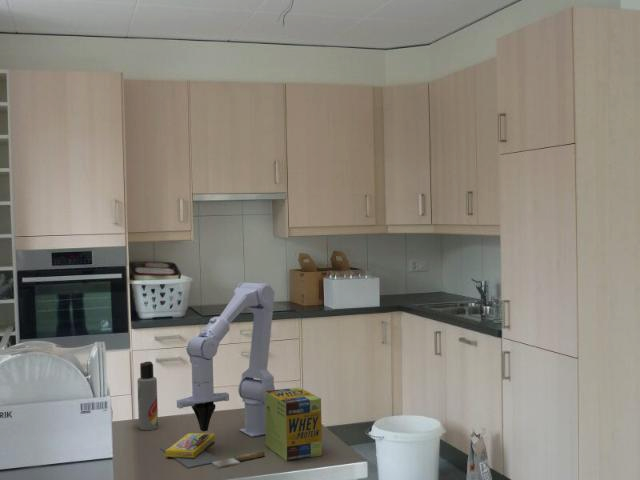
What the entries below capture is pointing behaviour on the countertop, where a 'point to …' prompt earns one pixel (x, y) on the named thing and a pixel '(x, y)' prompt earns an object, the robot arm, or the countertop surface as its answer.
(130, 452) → the countertop surface
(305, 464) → the countertop surface
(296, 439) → the protein box
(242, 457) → the turner
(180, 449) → the candy box
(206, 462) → the mat
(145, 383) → the lotion bottle
